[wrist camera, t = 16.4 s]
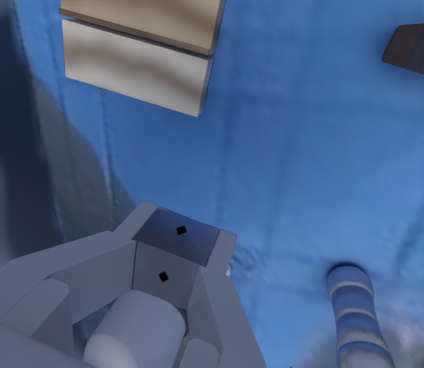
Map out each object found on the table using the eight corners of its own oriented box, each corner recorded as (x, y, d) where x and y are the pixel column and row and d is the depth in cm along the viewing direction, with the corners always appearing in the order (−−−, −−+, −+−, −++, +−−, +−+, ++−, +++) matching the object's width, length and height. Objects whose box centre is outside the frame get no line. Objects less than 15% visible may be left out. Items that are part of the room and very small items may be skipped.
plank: (202, 112, 39) (197, 117, 37) (76, 74, 42) (65, 76, 40) (213, 58, 35) (208, 60, 33) (74, 19, 38) (62, 19, 36)
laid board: (214, 53, 35) (207, 55, 33) (75, 15, 38) (58, 13, 35) (228, -13, 32) (221, -17, 29) (73, -51, 34) (54, -58, 32)
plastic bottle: (324, 288, 48) (338, 428, 31) (326, 257, 45) (344, 394, 28) (366, 293, 46) (406, 445, 29) (372, 261, 43) (420, 411, 26)
